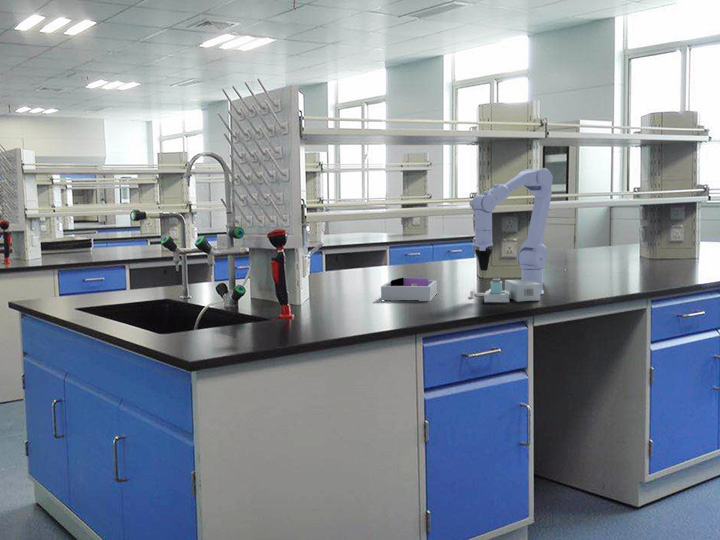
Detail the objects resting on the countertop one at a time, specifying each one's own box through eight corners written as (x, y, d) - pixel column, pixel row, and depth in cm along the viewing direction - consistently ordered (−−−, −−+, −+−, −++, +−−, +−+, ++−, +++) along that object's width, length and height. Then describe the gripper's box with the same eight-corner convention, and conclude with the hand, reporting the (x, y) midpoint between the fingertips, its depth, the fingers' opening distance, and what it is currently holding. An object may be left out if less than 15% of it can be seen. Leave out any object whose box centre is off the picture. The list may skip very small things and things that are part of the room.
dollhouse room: (401, 295, 277) (401, 276, 276) (431, 296, 271) (431, 277, 270) (386, 300, 266) (386, 280, 266) (417, 301, 261) (417, 281, 260)
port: (486, 298, 261) (486, 289, 260) (510, 298, 259) (510, 289, 259) (484, 303, 251) (484, 293, 251) (508, 303, 249) (508, 293, 249)
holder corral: (390, 294, 279) (390, 280, 279) (436, 294, 275) (436, 280, 275) (381, 300, 263) (380, 286, 262) (430, 301, 259) (429, 286, 258)
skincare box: (540, 301, 252) (527, 295, 267) (540, 282, 252) (527, 278, 267) (515, 301, 252) (504, 296, 267) (515, 283, 251) (504, 279, 266)
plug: (491, 298, 257) (491, 278, 257) (502, 299, 256) (502, 278, 256) (490, 300, 254) (490, 279, 253) (501, 300, 253) (501, 279, 252)
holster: (472, 295, 269) (471, 288, 269) (492, 295, 267) (492, 288, 267) (470, 298, 263) (470, 291, 263) (491, 298, 261) (491, 291, 261)
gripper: (473, 229, 266) (473, 268, 267) (470, 231, 251) (470, 272, 253) (493, 229, 264) (494, 268, 265) (491, 231, 250) (492, 272, 251)
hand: (484, 270), depth 259 cm, fingers closed
